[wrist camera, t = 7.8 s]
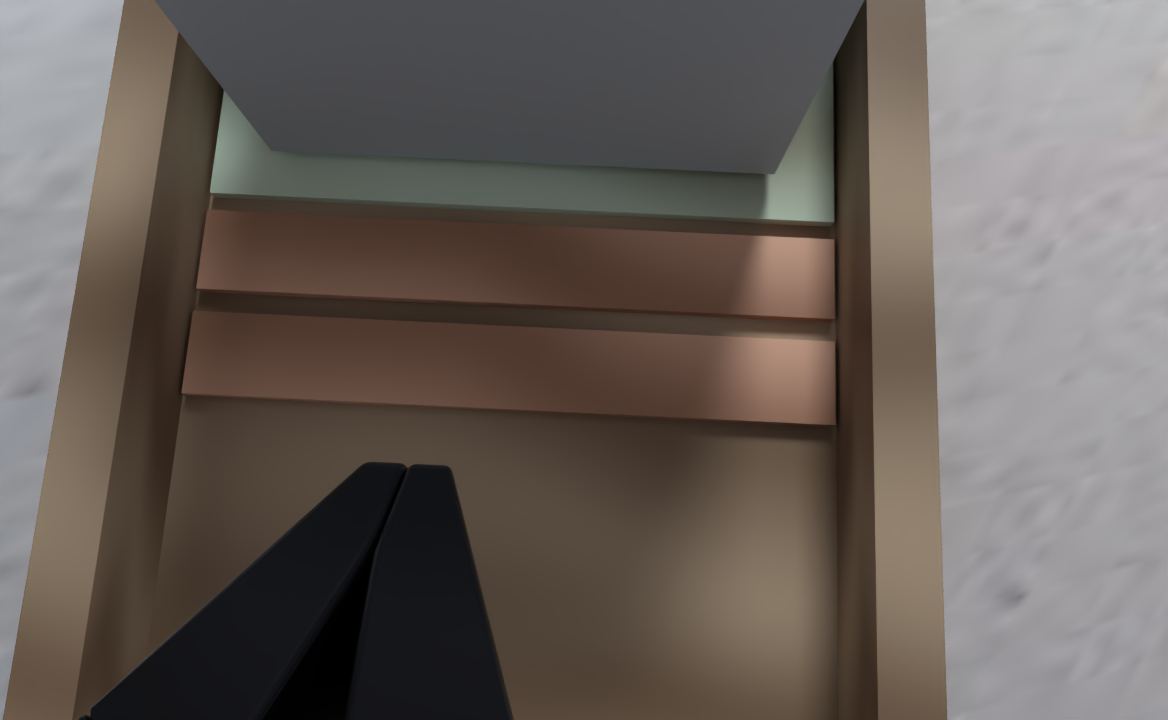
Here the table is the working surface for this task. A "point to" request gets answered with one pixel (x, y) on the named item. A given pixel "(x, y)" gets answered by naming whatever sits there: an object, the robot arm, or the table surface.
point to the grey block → (524, 76)
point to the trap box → (517, 395)
